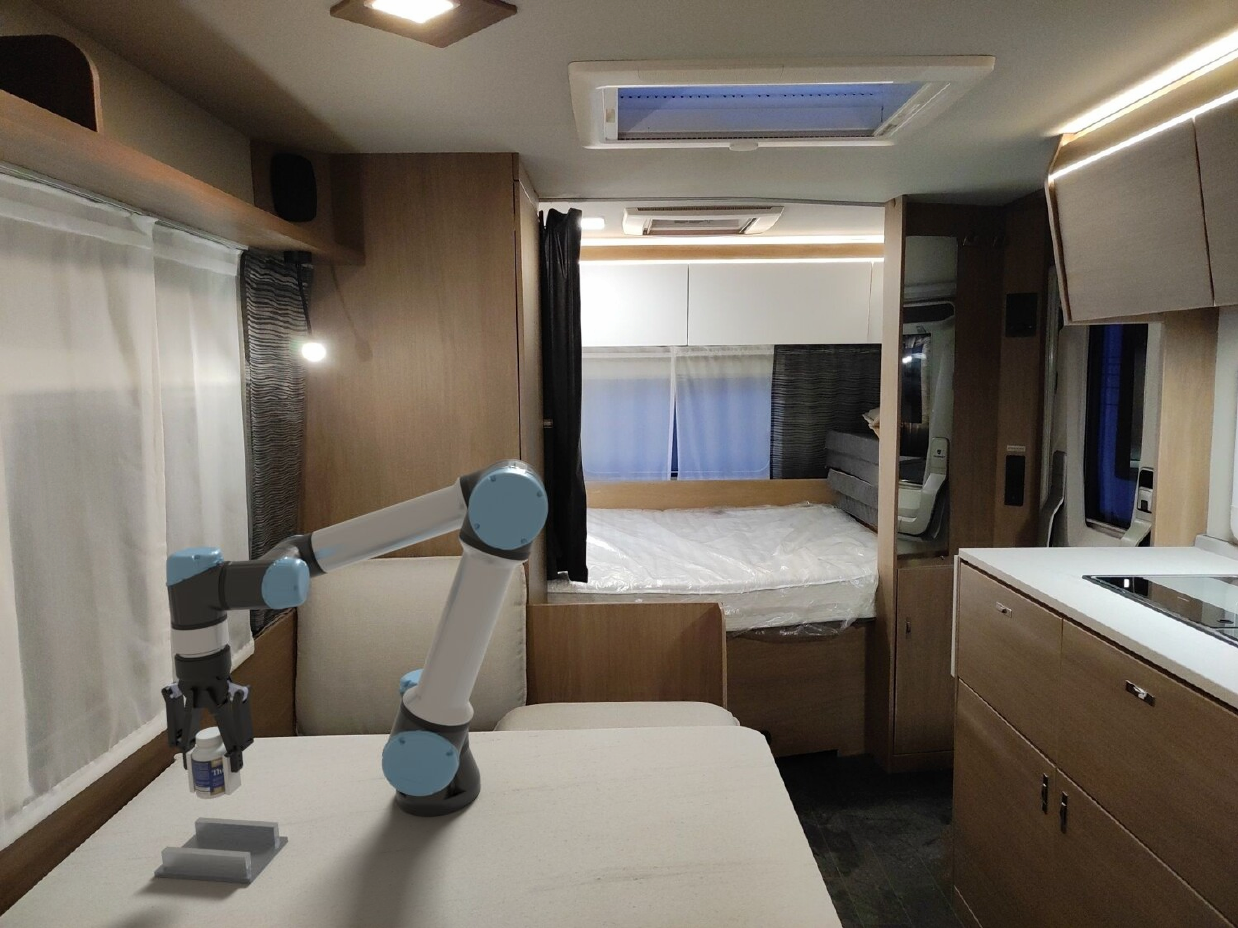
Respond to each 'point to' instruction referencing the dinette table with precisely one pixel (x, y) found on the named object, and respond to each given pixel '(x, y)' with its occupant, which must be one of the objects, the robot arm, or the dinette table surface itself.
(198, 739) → the pill bottle
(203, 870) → the rail channel
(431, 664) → the robot arm
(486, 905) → the dinette table surface
